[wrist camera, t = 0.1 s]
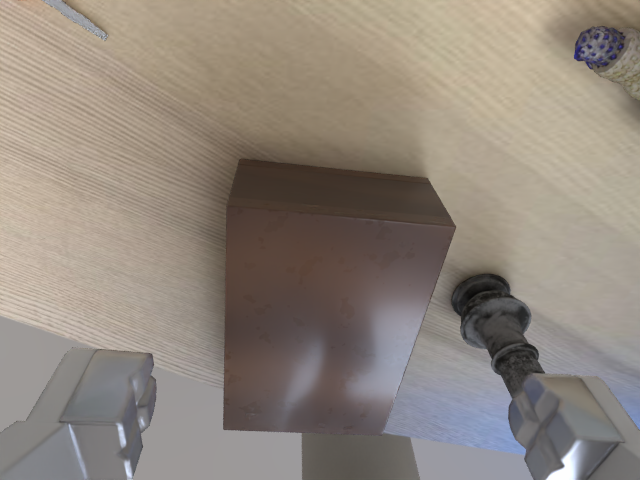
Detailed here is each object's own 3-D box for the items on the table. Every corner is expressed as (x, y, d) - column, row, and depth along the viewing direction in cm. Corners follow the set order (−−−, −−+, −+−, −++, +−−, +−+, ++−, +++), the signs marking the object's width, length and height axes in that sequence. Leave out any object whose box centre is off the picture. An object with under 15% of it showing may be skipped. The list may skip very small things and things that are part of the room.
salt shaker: (435, 308, 40) (482, 427, 30) (475, 262, 37) (541, 375, 27) (485, 327, 41) (545, 446, 31) (527, 284, 39) (607, 399, 29)
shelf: (371, 372, 44) (382, 436, 38) (233, 365, 43) (223, 430, 37) (428, 178, 32) (456, 226, 26) (239, 158, 31) (226, 205, 25)
